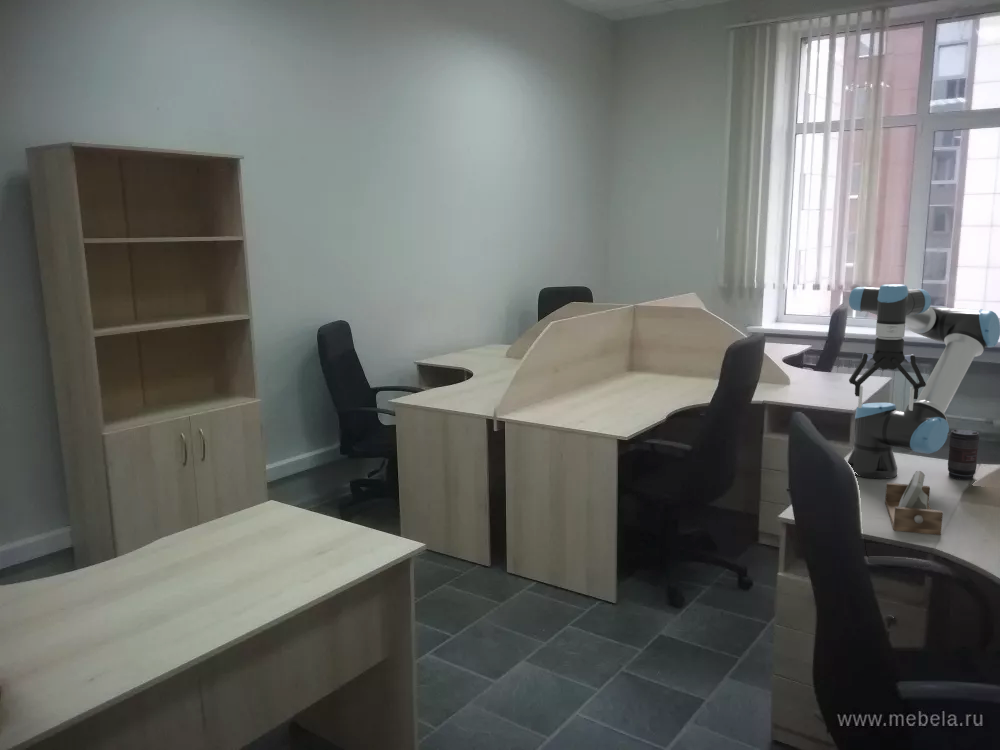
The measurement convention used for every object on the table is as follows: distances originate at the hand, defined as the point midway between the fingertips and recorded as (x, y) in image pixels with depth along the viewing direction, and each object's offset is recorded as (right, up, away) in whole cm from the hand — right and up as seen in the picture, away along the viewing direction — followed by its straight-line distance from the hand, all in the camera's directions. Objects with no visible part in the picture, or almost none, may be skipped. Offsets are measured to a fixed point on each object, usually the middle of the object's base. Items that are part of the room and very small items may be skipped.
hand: (884, 408), depth 228 cm
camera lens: (+34, -23, +19) cm, 45 cm away
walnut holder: (0, -30, -15) cm, 33 cm away
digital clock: (0, -29, -14) cm, 32 cm away
